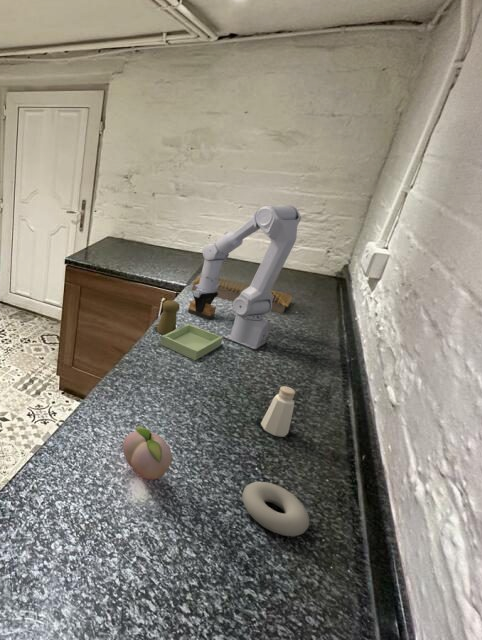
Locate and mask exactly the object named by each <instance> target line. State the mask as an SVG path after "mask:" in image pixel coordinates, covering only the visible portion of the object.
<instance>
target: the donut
mask: <svg viewBox="0 0 482 640" xmlns="http://www.w3.org/2000/svg"><path fill="white" fill-rule="evenodd" d="M241 497H242V503H243V506H244V508H245V509H246V511H247V513H248V514H249V516H251V518H253V520H254V521H255V522H256V523H258V524H259V525H261V526H262V527H263V528H265V529H266V530H269V531H270V532H272V533H275V534H278V535H281V536H284V537H296V536H300V535H303V534H304V533H305V532H306V531H307V530H308V529H309V527H310V517H309V513H308V511H307V509H306V507H305V506H304V505H303V502H301V500H300V499H298V498H297V496H295V495H294V494H293V493H292V492H290V491H289V490H287V489H286V488H284V487H282V486H279V485H278V484H274V483H271V482H267V481H253V482H251V483H249V484H247V485H246V486H245V487H244V489H243V492H242V495H241ZM266 503H270V504H273V505H275V506H277V507H278V508H280V509H281V510H282V511H283V512H278V511H276V510H274V509H273V508H271V507H269V505H267V504H266Z"/></svg>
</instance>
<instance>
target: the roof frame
mask: <svg viewBox="0 0 482 640" xmlns="http://www.w3.org/2000/svg"><path fill="white" fill-rule="evenodd" d="M200 278H201V275H199V276H198V277H197V278H195V279H194V280H193V281H191V282H190V283H191V284H193V285H192V291H193V292H194V291H195V290H196V289H197V287H195V285H196V284H199V282H200ZM217 284H219V289H218V290H216V292H218V295H217V296H216V298H217V297H218V298H222V299H224V300H225V299H226V300H229V301H233V302H234V300H235V299H236V298H237V297H239V296H240V294H241V292H242V291H244V290H245V289H246V288H248V287H249V286H250V285H251V284H247V283H242V282H239V281H235V280H229V279H226V278H221V277H219V278H218V283H217ZM270 292H271V293H272V295H273V296H274V298H273V301H272V308H271V311H272V312H276V313H280V314H284V312H285V310H286V308H289V305H290V302H291V301H292V299H293V297H294V295H292V294H288V293H285V292H281V291H277V290H274V289H271V291H270Z"/></svg>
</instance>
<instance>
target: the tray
mask: <svg viewBox="0 0 482 640" xmlns="http://www.w3.org/2000/svg"><path fill="white" fill-rule="evenodd" d="M223 339H224V337H223V336H221V335H218V334H216V333H213V332H211V331H208V330H206V329H204V328H201V327H199V326H196V325H194V324H191V323H187V324H185V325H183V326H182V325H181V326H180V327H178V328H176V330H174V331H172V332H170V333H167V334H165V335H164V334H162V336H161V340H160V345H161V346H163V347H165V348H168V349H169V350H172V351H173V352H176V353H178V354H180V355H182V356H184V357H187V358H189V359H191V360H192V361H197V360H199V359H200V358H202V357H204V356H205V355H207V354H209V353H211V352H212V351H214V350H216V349H218V348H219V347H221V346H222V342H223Z"/></svg>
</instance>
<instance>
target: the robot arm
mask: <svg viewBox="0 0 482 640" xmlns="http://www.w3.org/2000/svg"><path fill="white" fill-rule="evenodd" d="M301 220H302V216H301V214H300V212H299V210H298V208H297V207H295V206H294V205H289V204H288V205H276V206H274V205H273V206H272V205H271V206H270V205H264V206H262V207H260V208H259V209H258V210H256V211H254V212H253V215H252V216H251V217H250V218H249V219H248V220H247V221H246V222H245V223H243V224H242V225H241V226H240V227H238V228H237V229H236V230H230V231H225V232H224V233H223V234H224V235H223V236H222V237H220V238H218V239H216V240H215V241H214V242H213V243H207V244H205V246H204V247H203V248H202V257H203V258H204V260H203V265H202V268H201V269H202V270H201V274H200V276H201V278H200V282H199V284H196V285H195V287H197V289H196V290H195V291H194V290H193V292H192V297H193V300H195V307H196V311H197V312H199V313H202V312H203V310H204V307H205V305H206V303H207V304H210V305H212V303H213V302H214V300H215V299H216V298H217V295H218V292H216V290H218V289H220V287H219V284H217V283H218V278H220V275H221V271H222V266H223V265H224V264H225V261H226V260H227V259H228V257H229V255H230V253H231V252H234V250H236V249H237V248H239V247H240V246H242V245H243V242H244V241H243V240H244V239H245V238H247V237H249V236H251V235H252V234H254V233H255V232H257V231H258V230H259V231H260V229H261V230H262V232H263V233H264V234H265V235H266V237H268V238H269V239H270V243H269V245H268V247H267V249H266V251H265V254H264V255H263V257H262V259H261V262H260V264H259V267H258V268H257V271H256V272H255V274H254V276H253V278H252V281H251V283H250V284H249V285H250V286H249V287H248V288H246V289H245V290H244V291H242V292H241V293H239V294H240V296H239V297H237V298H236V299H235V300H234V301H233V304H232V308H233V311H234V314H235V316H234V317H235V318H234V321H233V325H232V329H231V332H230V333H228V334H227V335H225V336H224V338H225V339H227V340H229V341H232V342H234V343H236V344H240V345H242V346H244V347H247V348H250V349H252V350H257V349H258V348H260V347H261V346H263V345H265V344H266V340H267V337H268V333H269V330H270V327H271V322H270V321H267V320H265V319H264V318H265V316H266V315H267V314H269V313H270V312H271V311H272V310H271V308H272V302H274V301H273V298H274V296H273V295H272V293H271V292H272V291H271V290H273V287H274V285H275V283H276V281H277V279H278V277H279V275H280V273H281V271H282V269H283V268H284V265H285V263H286V261H287V259H288V257H289V255H290V254H291V252H292V249H293V248H294V245H295V244H296V241H297V236H298V235H297V234H298V226H299V225H300V222H301ZM270 291H271V292H270Z"/></svg>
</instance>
